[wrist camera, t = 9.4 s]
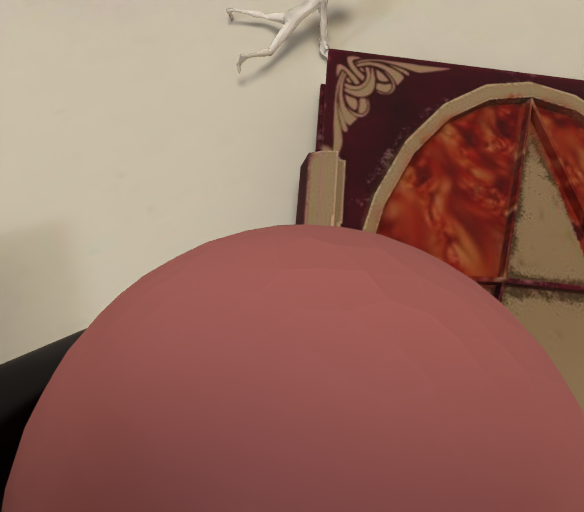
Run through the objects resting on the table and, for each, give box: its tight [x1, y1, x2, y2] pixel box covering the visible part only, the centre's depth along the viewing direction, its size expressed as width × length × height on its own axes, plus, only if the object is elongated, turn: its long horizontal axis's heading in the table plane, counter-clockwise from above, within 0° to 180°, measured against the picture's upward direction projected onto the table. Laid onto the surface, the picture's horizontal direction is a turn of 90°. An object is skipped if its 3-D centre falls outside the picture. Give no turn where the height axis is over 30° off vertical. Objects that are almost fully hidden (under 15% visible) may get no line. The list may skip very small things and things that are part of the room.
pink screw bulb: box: [1, 224, 584, 512], centre depth 9 cm, size 7×7×12 cm
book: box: [296, 49, 584, 414], centre depth 19 cm, size 28×21×5 cm
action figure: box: [226, 0, 329, 73], centre depth 24 cm, size 12×5×7 cm
